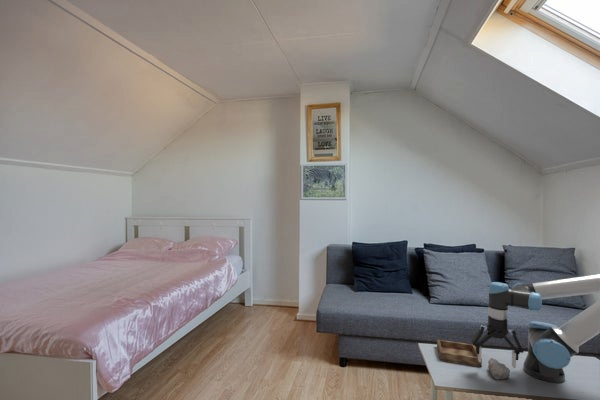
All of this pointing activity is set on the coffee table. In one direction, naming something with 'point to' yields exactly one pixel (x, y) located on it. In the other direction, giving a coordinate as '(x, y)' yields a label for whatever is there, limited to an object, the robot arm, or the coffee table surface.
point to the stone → (498, 369)
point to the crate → (458, 353)
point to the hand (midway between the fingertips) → (496, 363)
